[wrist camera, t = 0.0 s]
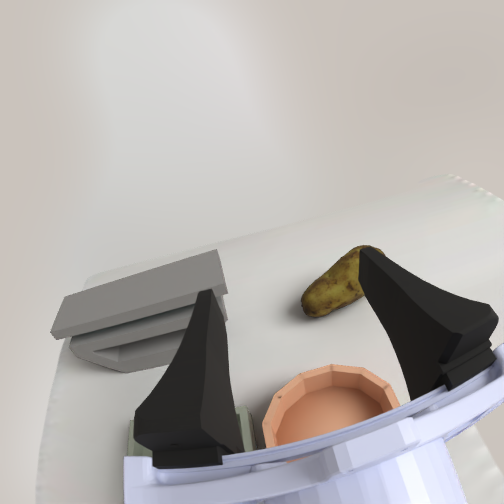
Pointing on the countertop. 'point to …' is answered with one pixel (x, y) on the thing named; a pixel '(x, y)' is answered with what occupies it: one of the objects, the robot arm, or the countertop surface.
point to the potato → (335, 286)
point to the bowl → (325, 403)
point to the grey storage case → (139, 314)
